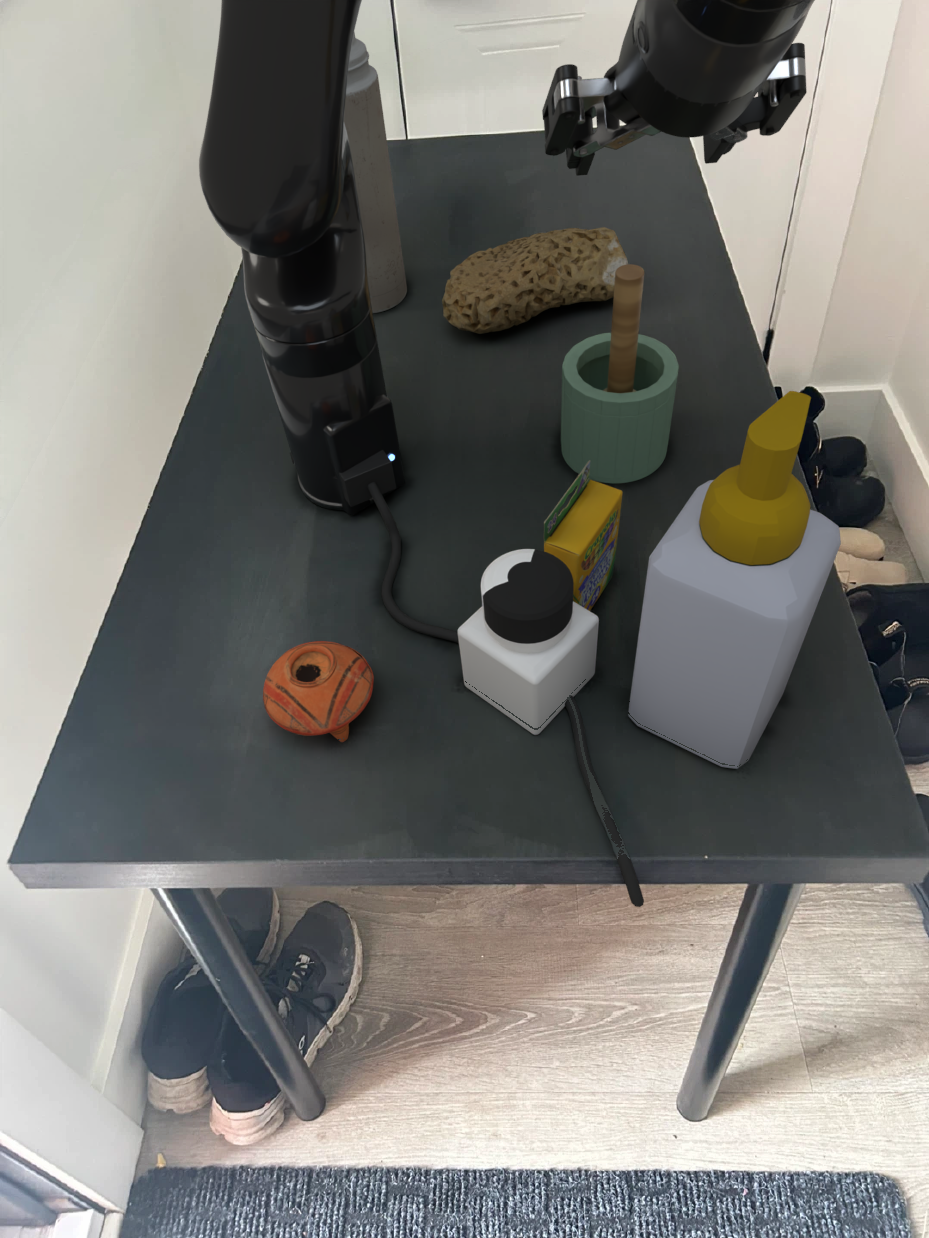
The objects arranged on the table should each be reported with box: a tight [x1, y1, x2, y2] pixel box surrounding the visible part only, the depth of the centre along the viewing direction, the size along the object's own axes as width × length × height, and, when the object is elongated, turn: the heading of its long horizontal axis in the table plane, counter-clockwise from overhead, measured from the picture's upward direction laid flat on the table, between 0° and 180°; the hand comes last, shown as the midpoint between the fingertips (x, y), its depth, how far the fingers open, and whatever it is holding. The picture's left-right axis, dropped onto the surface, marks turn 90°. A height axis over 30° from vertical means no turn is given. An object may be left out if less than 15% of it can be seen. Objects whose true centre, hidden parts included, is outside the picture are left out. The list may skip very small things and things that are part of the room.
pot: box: [262, 640, 375, 743], centre depth 64 cm, size 8×8×7 cm
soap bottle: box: [627, 390, 842, 770], centre depth 54 cm, size 9×9×25 cm
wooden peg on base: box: [603, 263, 645, 393], centre depth 74 cm, size 4×4×17 cm
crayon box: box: [543, 460, 624, 612], centre depth 66 cm, size 7×3×12 cm, turn 149°
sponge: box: [441, 226, 629, 335], centre depth 93 cm, size 13×8×20 cm
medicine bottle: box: [457, 548, 600, 736], centre depth 62 cm, size 7×7×12 cm
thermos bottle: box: [344, 31, 408, 314], centre depth 89 cm, size 8×8×28 cm
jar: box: [560, 332, 680, 484], centre depth 78 cm, size 10×10×9 cm
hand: (644, 154), depth 58 cm, fingers open, 8 cm apart
